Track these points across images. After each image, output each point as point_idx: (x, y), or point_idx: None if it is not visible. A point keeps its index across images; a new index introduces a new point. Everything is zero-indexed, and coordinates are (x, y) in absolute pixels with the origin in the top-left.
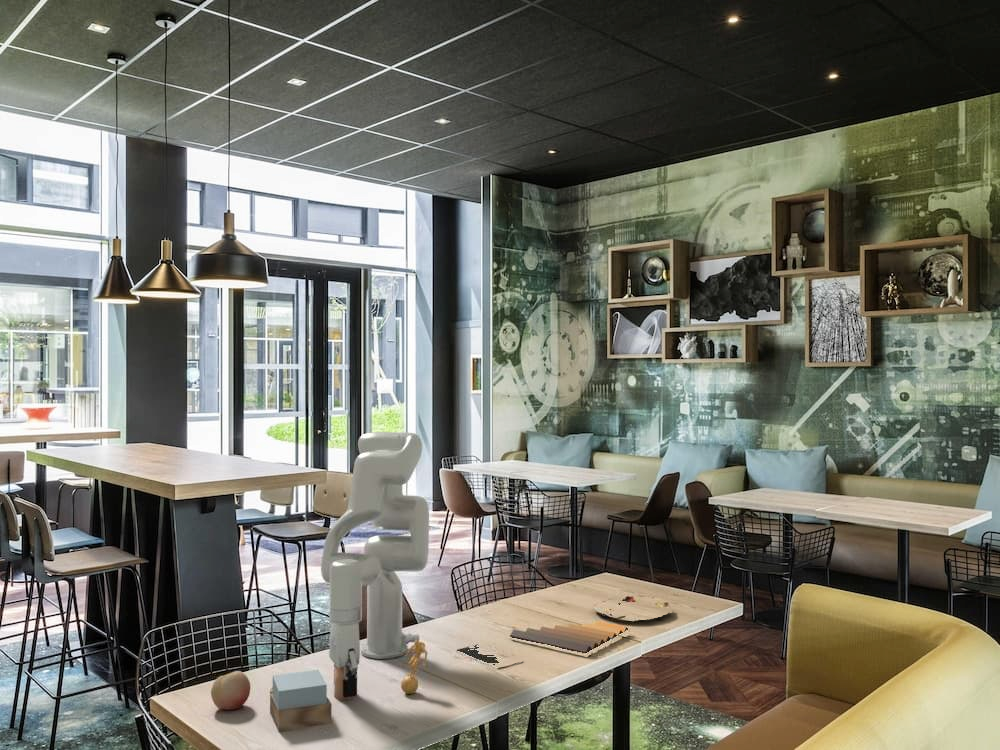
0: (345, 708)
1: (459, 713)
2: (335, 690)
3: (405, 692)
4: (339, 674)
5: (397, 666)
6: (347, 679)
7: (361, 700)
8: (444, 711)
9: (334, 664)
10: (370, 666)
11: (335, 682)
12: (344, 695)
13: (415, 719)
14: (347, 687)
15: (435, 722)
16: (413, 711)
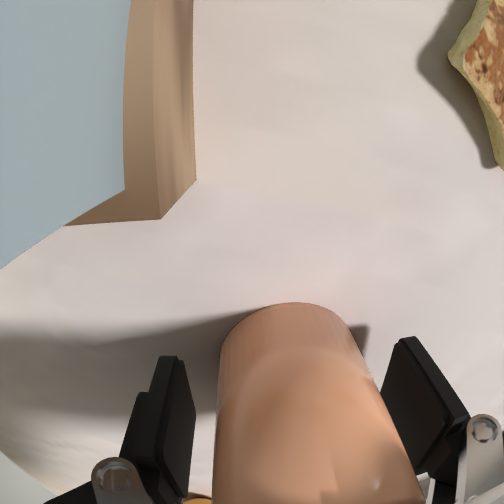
0: (87, 319)
1: (56, 492)
2: (280, 337)
3: (190, 500)
4: (240, 476)
5: None
6: (102, 473)
7: None
8: (64, 487)
9: (496, 428)
10: None
11: (291, 383)
12: (160, 367)
13: (12, 439)
14: (134, 422)
15: (6, 451)
16: (58, 461)
